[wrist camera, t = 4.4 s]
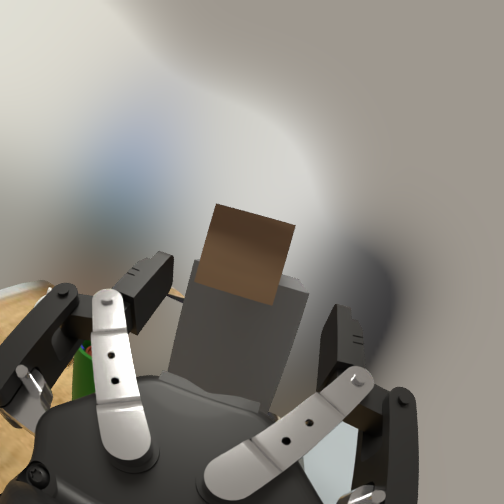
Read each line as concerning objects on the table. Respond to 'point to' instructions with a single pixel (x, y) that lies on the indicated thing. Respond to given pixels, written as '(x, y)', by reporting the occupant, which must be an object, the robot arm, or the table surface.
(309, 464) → the blue-grey step
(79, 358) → the motor
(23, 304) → the table surface
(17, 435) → the table surface
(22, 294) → the table surface
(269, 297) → the walnut bar
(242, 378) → the charcoal stand
